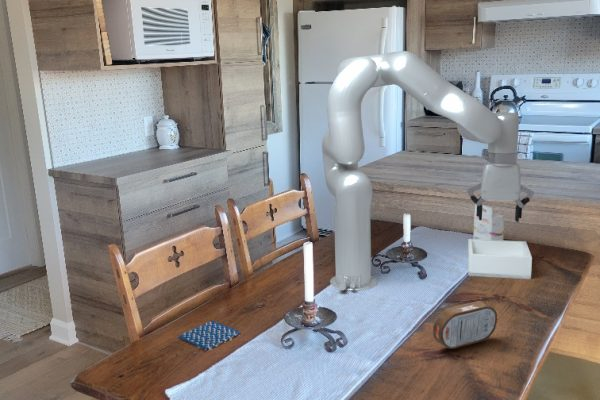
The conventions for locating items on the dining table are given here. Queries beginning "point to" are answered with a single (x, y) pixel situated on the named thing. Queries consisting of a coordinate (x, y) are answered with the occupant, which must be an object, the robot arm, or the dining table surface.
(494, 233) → the ink cartridge box
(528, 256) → the walled box
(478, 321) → the tin
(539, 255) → the dining table surface
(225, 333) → the woven mat
